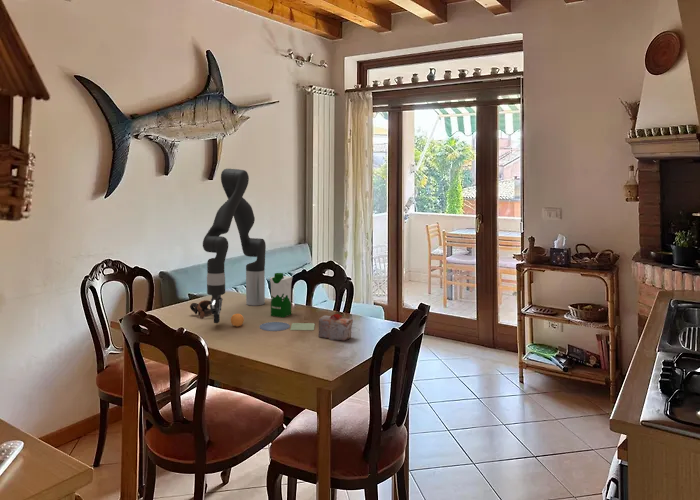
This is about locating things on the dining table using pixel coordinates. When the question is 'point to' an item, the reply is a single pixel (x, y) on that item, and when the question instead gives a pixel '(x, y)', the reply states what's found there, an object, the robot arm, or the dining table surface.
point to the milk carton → (280, 295)
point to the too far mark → (302, 326)
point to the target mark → (274, 326)
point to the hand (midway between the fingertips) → (216, 322)
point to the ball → (237, 320)
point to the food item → (335, 327)
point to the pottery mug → (201, 308)
